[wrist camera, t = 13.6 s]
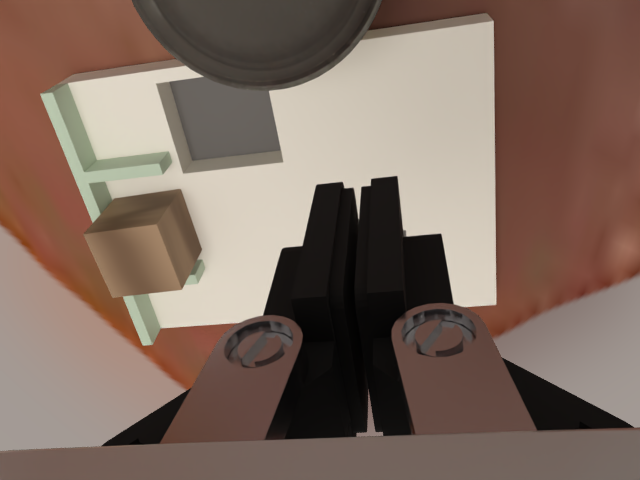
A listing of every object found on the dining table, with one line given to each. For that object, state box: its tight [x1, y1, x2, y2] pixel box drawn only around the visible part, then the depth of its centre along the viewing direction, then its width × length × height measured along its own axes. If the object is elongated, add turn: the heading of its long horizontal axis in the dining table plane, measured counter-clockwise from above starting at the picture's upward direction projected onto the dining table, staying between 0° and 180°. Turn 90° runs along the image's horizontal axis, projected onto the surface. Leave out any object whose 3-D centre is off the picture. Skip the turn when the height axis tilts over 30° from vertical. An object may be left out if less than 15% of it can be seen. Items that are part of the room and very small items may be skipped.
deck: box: [40, 13, 496, 345], centre depth 40 cm, size 27×20×4 cm
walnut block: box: [83, 189, 202, 298], centre depth 39 cm, size 5×5×5 cm
